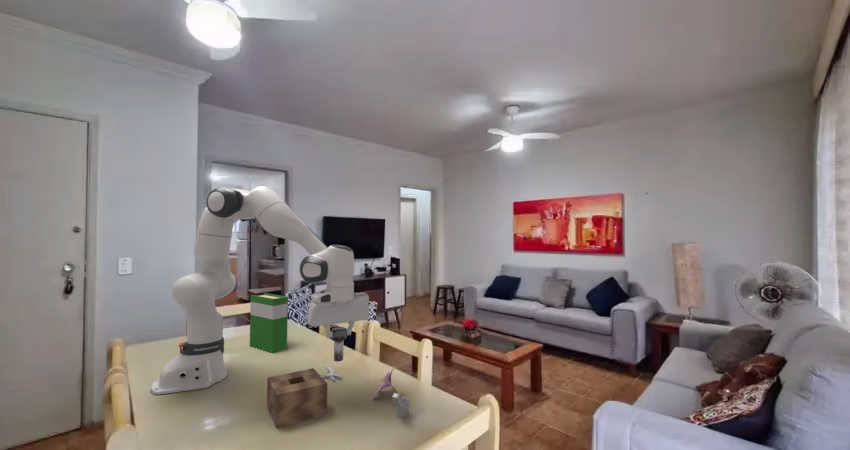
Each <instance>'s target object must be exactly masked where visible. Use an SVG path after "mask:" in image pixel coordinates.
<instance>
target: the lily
mask: <svg viewBox="0 0 850 450" xmlns="http://www.w3.org/2000/svg"><path fill="white" fill-rule="evenodd" d="M395 368H396V366H394V367H393V368H392V369H391V370H390V371H387V372H386V374H384V375H385V376H384V377H382V379H381V378H380V379H381V380H380V381H381V382H382V384H381V386H380V387H379V389H377V391H376V392H375V394H374V395H373V397H372V399H371V400H372V401H373V399H374V398H375V397H376V395H377V394H378V392H379V391H383V390H384V389H387V388H392V389H393V390H394V391H395V393H397V394H399V392H398V391H397V390H396V388H395V387H394V386H393V385H392V374H393V372H394V369H395Z"/></svg>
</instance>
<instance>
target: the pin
mask: <svg viewBox="0 0 850 450" xmlns="http://www.w3.org/2000/svg"><path fill="white" fill-rule="evenodd" d="M347 328H348V327H344V326H343V327H342V326H340V327H339V326H338V327H333V328H331V332H333V338H330V339H331V340H333V341H334V342H333V361H334V362H342V361H344V344H345V343H344V340H346V339H347Z"/></svg>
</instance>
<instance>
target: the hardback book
mask: <svg viewBox="0 0 850 450" xmlns="http://www.w3.org/2000/svg"><path fill="white" fill-rule="evenodd" d="M288 298H289V296H284V295H279V294H272V293H267V292H264V293H263V294H262V295H253V294H250V304H249V305H250V308H249V310H250V312H249V313H250V314H249V315H250V319H249V347H250V346H251V347H250V348H252V347H254V348H253V349H255V348H257V349H256V350H259V349H260V350H259V351H262V350H263V352H265V351H266V353H268V352H269V354H271V353H272V354H271V355H273V353H274V354H277V353H280V352H283V351H286V350H287V349H288V311H289V310H288V307H289V305H288V303H289V302H288V301H289V300H288ZM282 350H283V351H282ZM279 351H280V352H279ZM276 352H277V353H276Z"/></svg>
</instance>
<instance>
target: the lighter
mask: <svg viewBox="0 0 850 450" xmlns="http://www.w3.org/2000/svg"><path fill="white" fill-rule="evenodd" d="M397 393H398V392H397ZM397 393H396V392H394V393H393V394H392V396H391V397H392V398H391V399H392V402H393V404H394V408H396V409H397V414H396V415H397V416H396V417H397V420H402V421H403V420H404V418H406V417H407V416H408V415H409V414H410V398H408V397H407V396H404V395H403V396H401V394H400V393H398V394H397Z"/></svg>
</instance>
